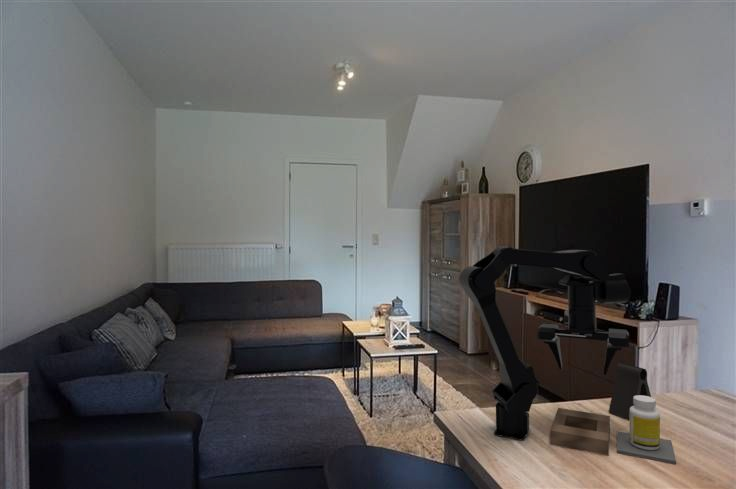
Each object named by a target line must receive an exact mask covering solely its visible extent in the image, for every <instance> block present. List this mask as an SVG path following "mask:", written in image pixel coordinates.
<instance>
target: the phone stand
mask: <svg viewBox="0 0 736 489" xmlns="http://www.w3.org/2000/svg"><path fill="white" fill-rule="evenodd" d="M615 370H616V374H615V375H616V377H615V382H614V385H613V386H614V387H613V390H612V394H611V398H610V403H609V407H608V413H609V414H610V415H614V416H615V417H619V418H622V419H623V420H624V419H625V420H627V421H629V410H630V407H632V406H634V404H633V397H634V396H636V395H643V396H649V397H652V394H651V392H650V387H649V384H648V372H647V370H646V368H644V367H639V366H636V365H631V364H628V363H624V362H618V364H617V365H616V369H615Z"/></svg>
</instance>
